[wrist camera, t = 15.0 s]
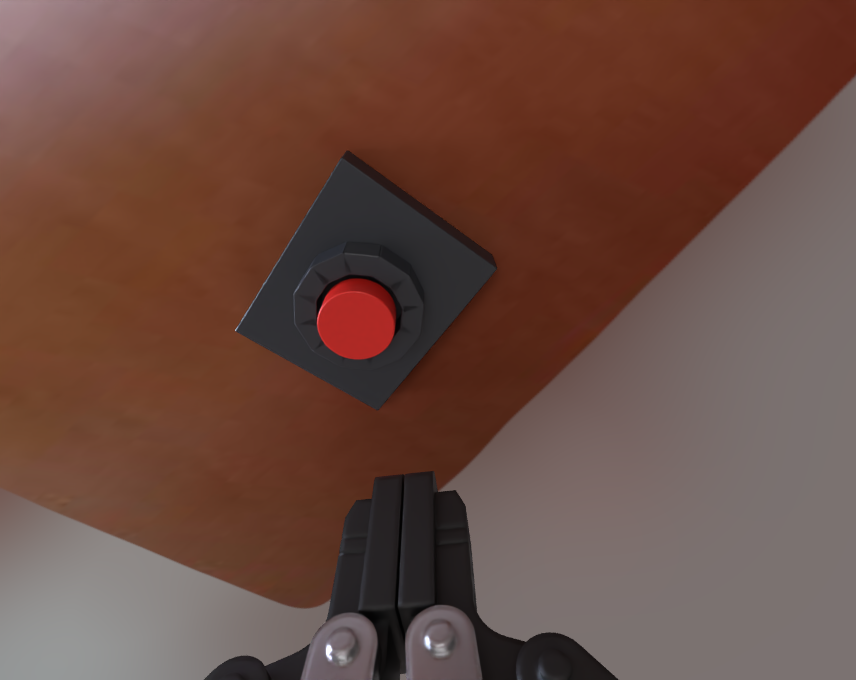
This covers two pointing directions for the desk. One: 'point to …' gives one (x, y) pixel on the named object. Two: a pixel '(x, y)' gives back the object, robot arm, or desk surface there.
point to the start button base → (373, 260)
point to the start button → (357, 319)
